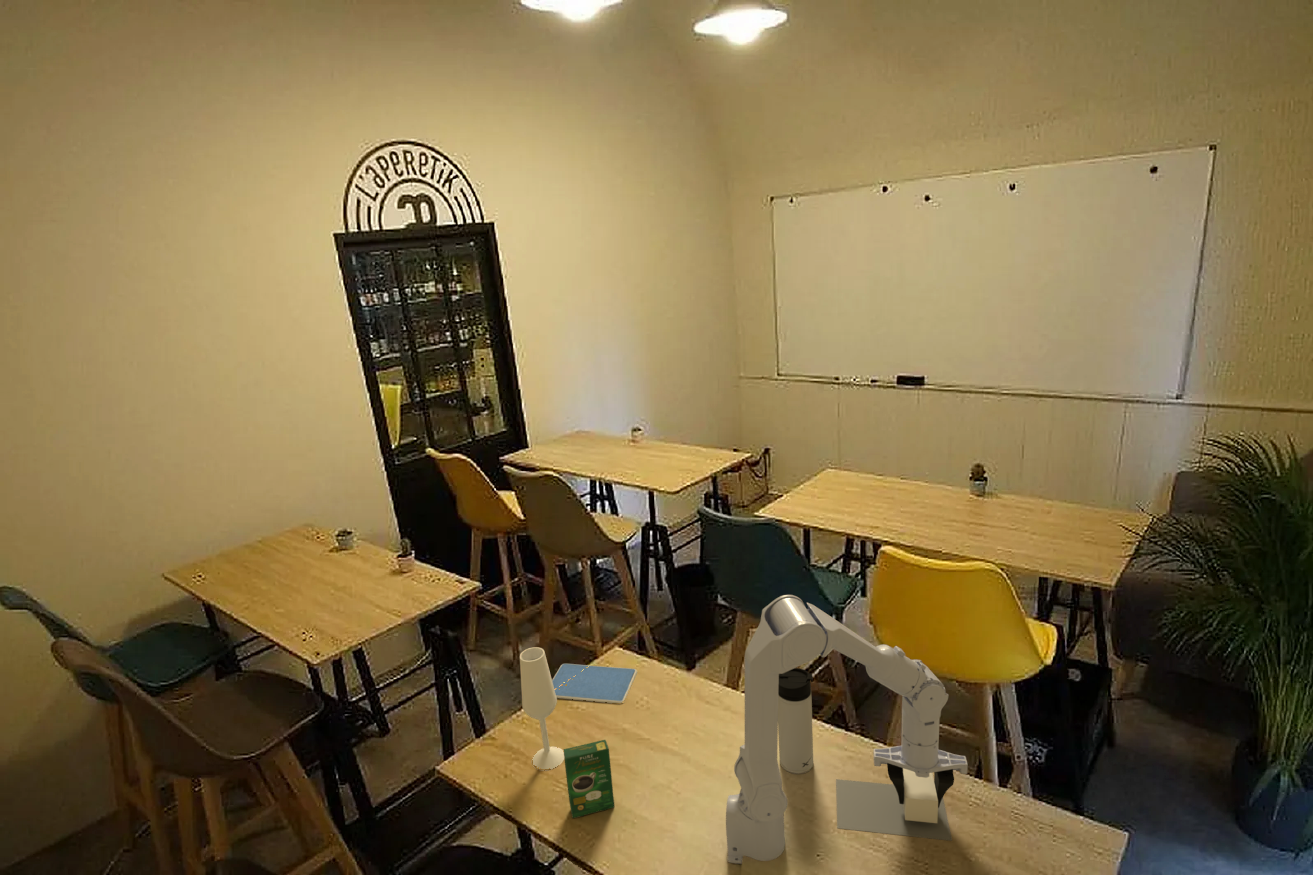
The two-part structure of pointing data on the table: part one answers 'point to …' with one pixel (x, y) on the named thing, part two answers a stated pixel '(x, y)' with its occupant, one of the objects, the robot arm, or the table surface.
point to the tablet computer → (593, 683)
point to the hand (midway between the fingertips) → (918, 801)
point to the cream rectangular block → (919, 798)
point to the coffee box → (589, 778)
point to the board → (882, 811)
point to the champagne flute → (539, 702)
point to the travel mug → (795, 721)
